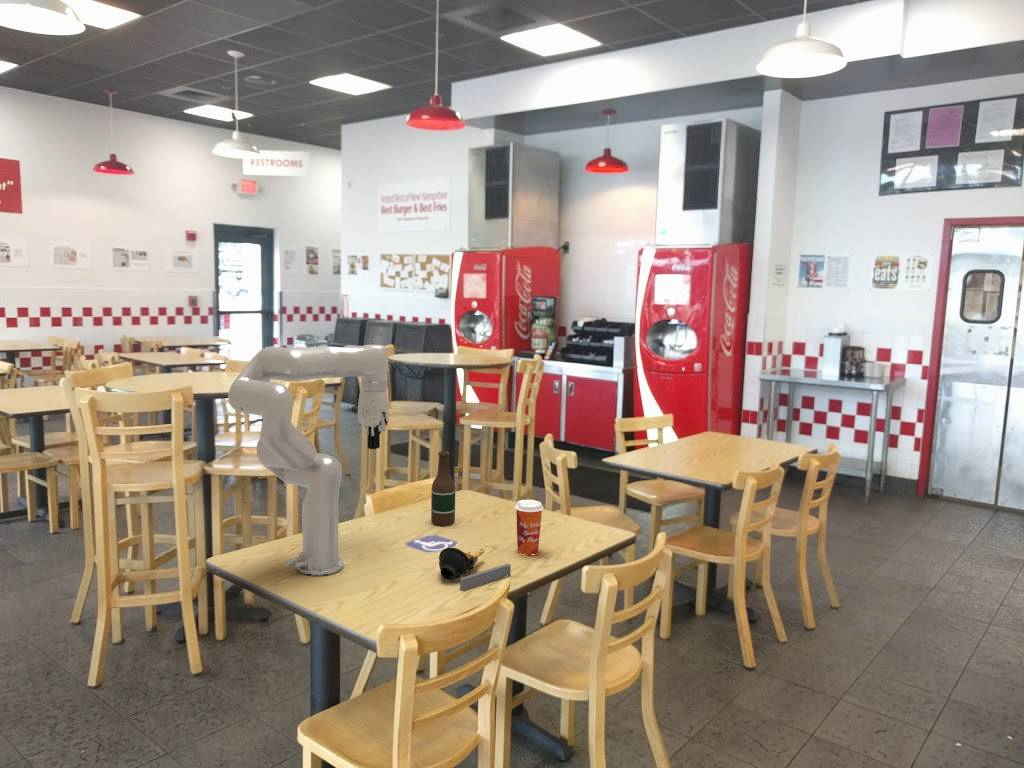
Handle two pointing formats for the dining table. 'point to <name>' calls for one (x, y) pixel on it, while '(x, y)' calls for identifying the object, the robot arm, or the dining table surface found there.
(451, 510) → the beer bottle
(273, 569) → the dining table surface
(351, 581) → the dining table surface
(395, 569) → the dining table surface
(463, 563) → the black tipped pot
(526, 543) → the coffee cup
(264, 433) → the robot arm
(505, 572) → the rail
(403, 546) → the dining table surface
